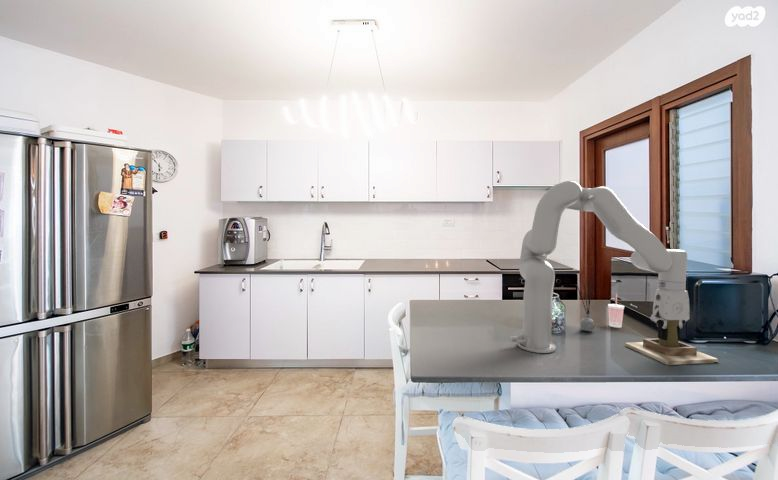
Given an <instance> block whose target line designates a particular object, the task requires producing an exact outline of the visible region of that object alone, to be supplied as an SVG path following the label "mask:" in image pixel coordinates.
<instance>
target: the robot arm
mask: <svg viewBox="0 0 778 480" xmlns="http://www.w3.org/2000/svg"><path fill="white" fill-rule="evenodd" d="M566 209H567V210H568V209H569V210H574V211H579V212H588V213H589V212H590V213H592V212H593V213H594V214H595V215H596V217H597V218H598V220H600V222H601V223H602V225H604V227H605V228H606V229H607V231H608V232H609V233H610V235H613V237H615V238H616V239H618V240H621V241H622V242H624V243H626V244H628V245H629V246H630V247H631V248H632V249H633V250H634V251H633V252H632V253H631V255H630V263H631V264H632V265H633V266H634V267H636V268H637V269H640V270H643V271H648V272H653V273H658V278H657V283H656V284H655V285H656V287H657V289H656V290H655V293H654V297H653V302H652V303H653V305H652V313H651V316H650V317H649V319H650V321H652V322H653V323H654V324H655V325H656V327H657V328H658V329H657V337H658V338H660V339H662V340H667V336H668V329H666V326H667V321H675V320H679V325H678V326H677V334H678V341H680V340H681V329H683V326H684V324H685V323H686V322H688V321H689V320H690V298H689V291H688V290H686V289H687V288H686V284H687V282H686V281H687V270H688V269H687V266H688V253H687V251H685V250H682V249H674V248H673V249H670V248H666V247H665V245H664V244H663V242H662V241H661V240H660V239H659V238H658V237H657V236H656V235H655V234H654V233H653V232H651V231H650V230H649V229H648V228H647V227H645V226H644V225H643V224H642V223H641V222H639V221H638V220H637V219H636V218H635V217H634V216H633V215H632V214H631V213H630V211H629V210H628V209H627V207H626V206H625V205H624V204H623V202H622V201H621V200H620V199H619V198H618V197H617V195H616V193H614V191H613V190H612V189H610V188H609V187H607V186H596V187H593V188H588V187H582V186H581V185H580V184H579V183H578V182H576V181H574V180H566V181H562V182H559V183H556V184H554V185H553V186H551V187H550V188H549V189H548V190H547V191H546V192H545V193H544V194H543V195H542V197H541V198H540V200H539V201H538V202H537V206H536V209H535V212H534V217H533V221H532V227H531V229H530V230H528V232H526V233H525V235H524V237H523V239H522V244H521V250H520V257H519V264H518V265H519V266H518V270H519V274H520V276H521V277H522V279H524V281H525V282H524V288H523V298H522V299H523V300H522V301H523V303H522V304H523V306H522V307H523V308H522V311H523V312H522V314H523V316H522V318H523V319H522V332H519V335H517V336H515V335H512V336H509V342H511V343H514V342H515V343H516V344H517V346H518V347H519V348H520V349H522V350H525V351H527V352H531V353H536V354H537V353H538V354H548V353H549V354H550V353H554V352H555V351H556V349H557V348H556V347H557V346H556V345H555V344H554V343H553V342H552V328H553V327H552V322H553V321H552V320H553V296H554V295H553V294H554V287H555V281H556V279H555V278H556V274H555V273H556V272H555V269H554V268H553V266H552V265H551V263H549V262H548V261H547V258H548V256H549V255H551V254H552V253H554V251H555V250H556V248H557V242H558V241H557V240H558V237H559V236H558V234H559V227H560V223H561V217H562V214H563V213H564V211H565V210H566ZM661 320H663V323H662V322H661Z"/></svg>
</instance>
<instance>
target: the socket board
mask: <svg viewBox="0 0 778 480" xmlns="http://www.w3.org/2000/svg"><path fill="white" fill-rule="evenodd" d="M642 340H643V341H638V342H637V341H635V342H634V341H632V342H625V343H624V346H625V347H626V348H629V349H631V350H633V351H635V352H638V353H640V354H642V355H644V356H646V357H648V358H652V359H653V360H655V361H658V362H659V363H662V364H665V365H667V366H673V365H676V366H677V365H695V364H696V365H697V364H713V363H714V362H718V363H719V359H718V358H717V357H714V356H711V355H708V354H706V353H703V352H701V351H698V348H697V347H696V346H693V345H691V344H688V343H686V342H683V341H680V340H678V343H679V347H666V346H664V345H661V344H659V343H658V341H659V338H653V337H652V338H643V339H642ZM714 364H715V363H714Z"/></svg>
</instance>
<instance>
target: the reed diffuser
mask: <svg viewBox="0 0 778 480" xmlns="http://www.w3.org/2000/svg"><path fill="white" fill-rule="evenodd" d="M587 284H588V285H587V286H588V287H590V283H587ZM584 285H586V282H585V281H584ZM576 286H577V290H578V293H579V295H580V298H581V301H582V304H583V307H584V310H585V313H584V317H582V318H581V320H580V330H582V331H585V332H593V331H594V330H595V322H594V320H593V319H592V318H591V313H590V304H591V297H592V288H593V286H592V285H591V287H590V291H589V299H588V298H587V289H586V286H584V292H585V294H584V295H585V302H586V305H585V302H584V301H583V300H584V299H583V297H582V294H581V292H580V287H579V285H578V284H576ZM587 299H588V300H587Z"/></svg>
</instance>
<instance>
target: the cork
mask: <svg viewBox="0 0 778 480" xmlns="http://www.w3.org/2000/svg"><path fill="white" fill-rule="evenodd" d="M661 322H662V323H663V320H661ZM678 325H679V320H675V321H667V326H666V329H668V336H667V340H662V339H660V338H659V341H658V343H659V344H661V345H664V346H666V347H679V343H678V341H679V340H678V334H677V326H678Z"/></svg>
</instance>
